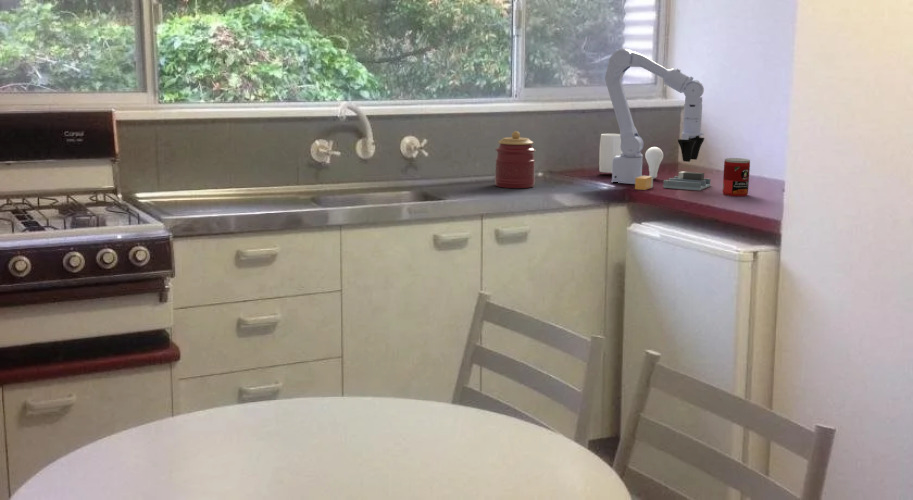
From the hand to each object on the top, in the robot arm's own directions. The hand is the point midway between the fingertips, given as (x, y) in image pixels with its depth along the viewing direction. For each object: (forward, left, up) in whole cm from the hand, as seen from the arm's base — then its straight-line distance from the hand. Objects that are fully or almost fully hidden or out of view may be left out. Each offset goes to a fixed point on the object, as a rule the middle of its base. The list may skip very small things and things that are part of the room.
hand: (690, 160), depth 354 cm
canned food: (+18, -12, -9) cm, 24 cm away
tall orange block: (-11, -13, -8) cm, 19 cm away
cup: (-32, +14, -9) cm, 36 cm away
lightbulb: (-16, +12, -9) cm, 22 cm away
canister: (-48, -32, -9) cm, 58 cm away
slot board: (0, -3, -8) cm, 9 cm away
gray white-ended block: (+1, 0, -8) cm, 8 cm away
